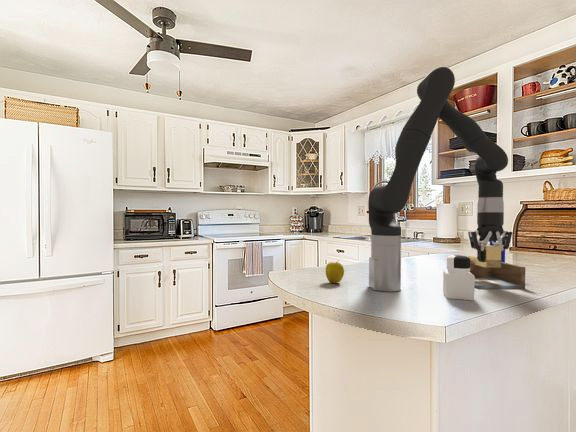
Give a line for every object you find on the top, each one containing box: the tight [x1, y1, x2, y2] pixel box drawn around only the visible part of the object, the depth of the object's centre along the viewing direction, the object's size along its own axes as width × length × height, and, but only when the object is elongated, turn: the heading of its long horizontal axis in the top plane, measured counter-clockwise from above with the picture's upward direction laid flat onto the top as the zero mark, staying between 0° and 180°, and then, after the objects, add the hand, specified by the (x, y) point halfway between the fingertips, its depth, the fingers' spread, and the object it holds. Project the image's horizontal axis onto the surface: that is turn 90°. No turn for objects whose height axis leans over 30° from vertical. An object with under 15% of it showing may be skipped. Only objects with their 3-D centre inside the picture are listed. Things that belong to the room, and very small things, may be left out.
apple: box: [325, 260, 345, 284], centre depth 110 cm, size 6×6×8 cm
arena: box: [469, 262, 526, 290], centre depth 112 cm, size 16×15×7 cm
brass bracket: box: [467, 245, 501, 268], centre depth 111 cm, size 10×5×7 cm, turn 2°
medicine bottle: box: [442, 254, 475, 301], centre depth 93 cm, size 7×7×12 cm
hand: (489, 261), depth 108 cm, fingers closed on brass bracket, 5 cm apart
